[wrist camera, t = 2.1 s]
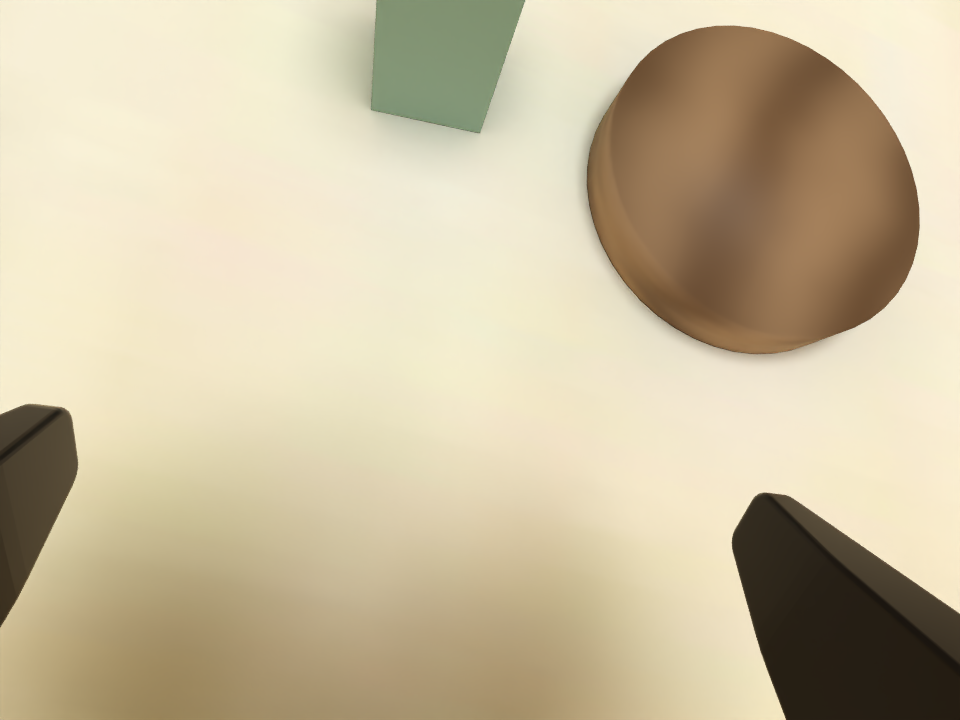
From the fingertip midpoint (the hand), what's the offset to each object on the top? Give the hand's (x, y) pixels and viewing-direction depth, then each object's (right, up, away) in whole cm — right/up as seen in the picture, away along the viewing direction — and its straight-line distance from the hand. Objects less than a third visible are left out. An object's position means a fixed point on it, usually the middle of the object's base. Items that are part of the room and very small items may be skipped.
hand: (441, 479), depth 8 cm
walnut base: (+12, +9, +19) cm, 24 cm away
